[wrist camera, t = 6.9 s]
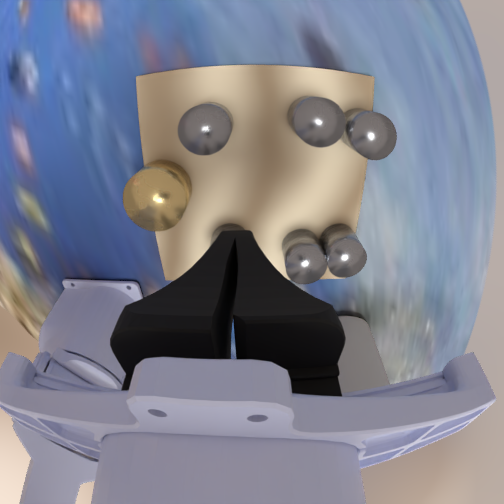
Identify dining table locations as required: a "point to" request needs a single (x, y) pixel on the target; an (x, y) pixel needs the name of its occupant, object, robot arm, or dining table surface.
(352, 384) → the can
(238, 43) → the dining table surface
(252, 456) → the robot arm
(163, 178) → the gold dome
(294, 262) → the metal pegs
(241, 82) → the board
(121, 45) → the dining table surface
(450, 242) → the dining table surface
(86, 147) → the dining table surface
